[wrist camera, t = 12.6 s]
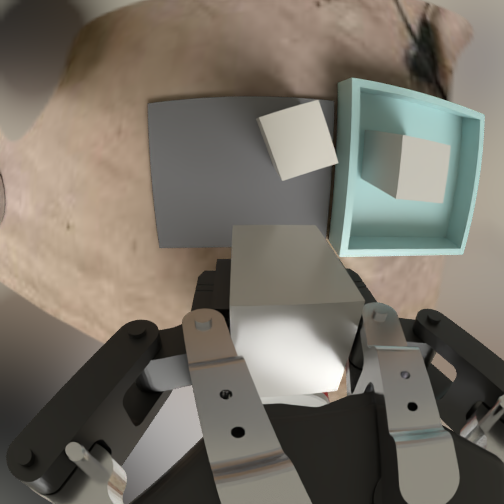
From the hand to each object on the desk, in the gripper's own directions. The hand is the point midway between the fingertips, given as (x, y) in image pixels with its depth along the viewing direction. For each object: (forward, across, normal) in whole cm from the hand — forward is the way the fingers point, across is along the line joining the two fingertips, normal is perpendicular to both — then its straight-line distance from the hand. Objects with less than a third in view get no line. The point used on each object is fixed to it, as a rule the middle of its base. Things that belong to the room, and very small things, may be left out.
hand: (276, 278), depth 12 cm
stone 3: (+11, -10, -5) cm, 15 cm away
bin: (+11, -13, -4) cm, 17 cm away
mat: (+12, +1, -2) cm, 12 cm away
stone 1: (+11, -2, -6) cm, 12 cm away
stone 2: (+2, 0, 0) cm, 2 cm away
